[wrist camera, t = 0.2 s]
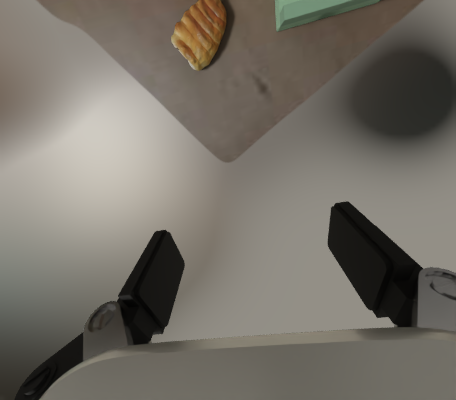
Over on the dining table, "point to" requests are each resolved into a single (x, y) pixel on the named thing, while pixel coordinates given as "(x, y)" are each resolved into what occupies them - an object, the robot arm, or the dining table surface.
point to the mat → (312, 10)
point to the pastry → (200, 32)
